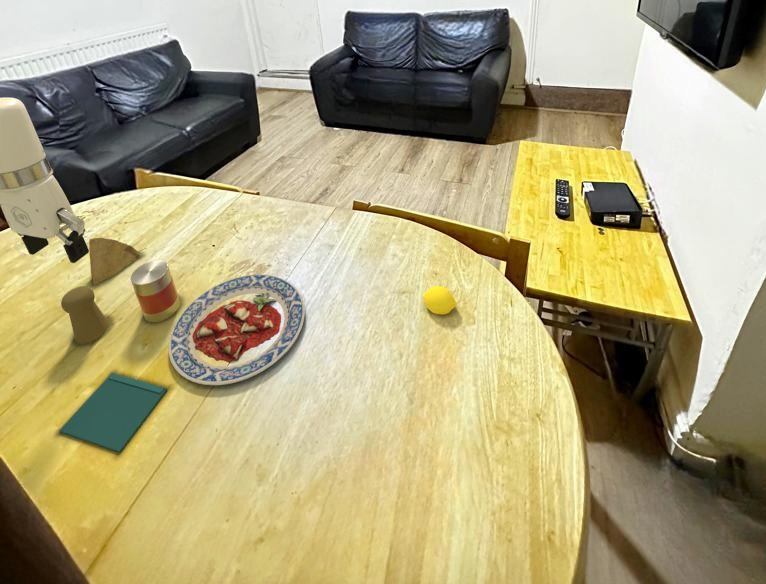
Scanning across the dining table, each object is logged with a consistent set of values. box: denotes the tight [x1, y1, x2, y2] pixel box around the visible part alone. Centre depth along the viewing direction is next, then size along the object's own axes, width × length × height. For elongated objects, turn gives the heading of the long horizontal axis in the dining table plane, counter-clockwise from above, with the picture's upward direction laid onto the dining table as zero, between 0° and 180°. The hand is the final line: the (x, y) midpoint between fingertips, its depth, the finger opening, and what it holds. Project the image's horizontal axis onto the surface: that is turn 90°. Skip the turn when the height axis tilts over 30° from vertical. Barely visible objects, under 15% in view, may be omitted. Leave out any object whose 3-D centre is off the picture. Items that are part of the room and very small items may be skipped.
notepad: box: [58, 372, 168, 454], centre depth 68 cm, size 12×10×1 cm
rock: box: [88, 237, 142, 285], centre depth 99 cm, size 11×9×10 cm
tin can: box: [130, 259, 181, 323], centre depth 86 cm, size 7×7×11 cm
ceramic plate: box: [167, 274, 306, 386], centre depth 82 cm, size 26×26×3 cm
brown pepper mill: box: [60, 285, 110, 345], centre depth 81 cm, size 6×6×11 cm
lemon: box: [422, 285, 458, 316], centre depth 85 cm, size 7×5×5 cm
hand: (59, 253), depth 75 cm, fingers open, 9 cm apart
